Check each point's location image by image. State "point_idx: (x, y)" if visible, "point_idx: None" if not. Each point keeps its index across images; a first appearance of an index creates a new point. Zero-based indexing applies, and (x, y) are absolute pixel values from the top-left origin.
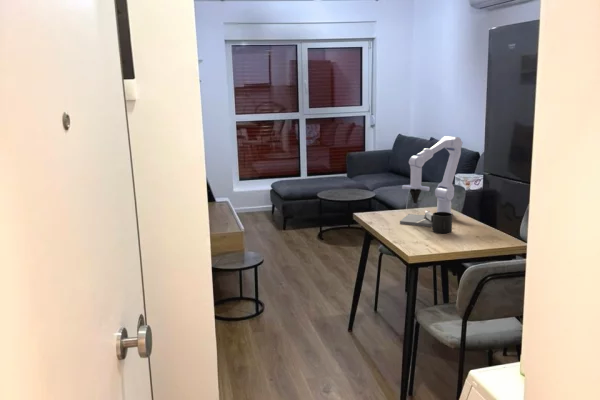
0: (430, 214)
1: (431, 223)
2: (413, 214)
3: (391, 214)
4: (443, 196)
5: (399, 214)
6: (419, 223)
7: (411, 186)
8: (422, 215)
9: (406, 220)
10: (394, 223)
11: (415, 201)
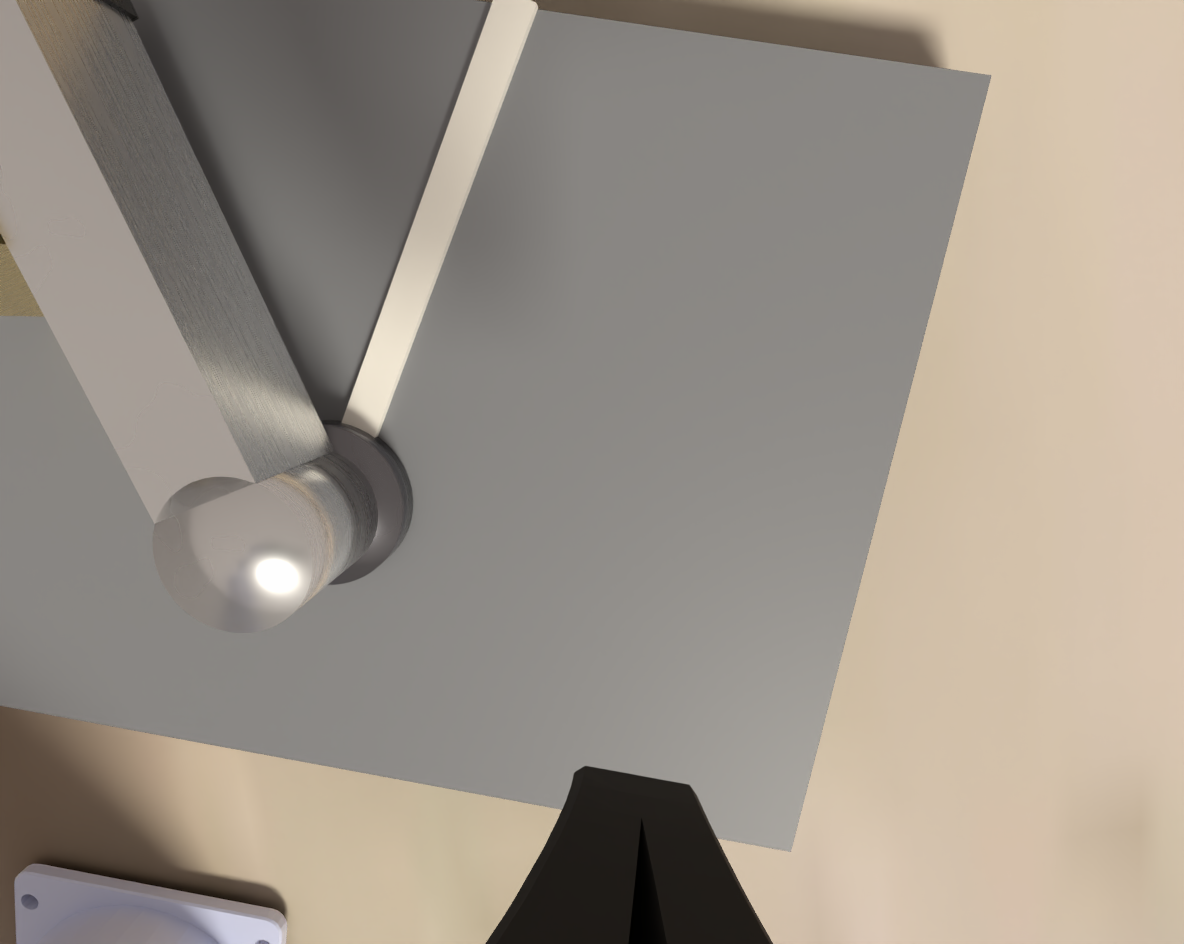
0: (47, 118)
1: (157, 34)
2: None
3: (1158, 898)
4: None
5: (982, 922)
6: (453, 1)
7: None
8: (480, 755)
9: (811, 189)
10: (1093, 105)
11: (600, 813)
